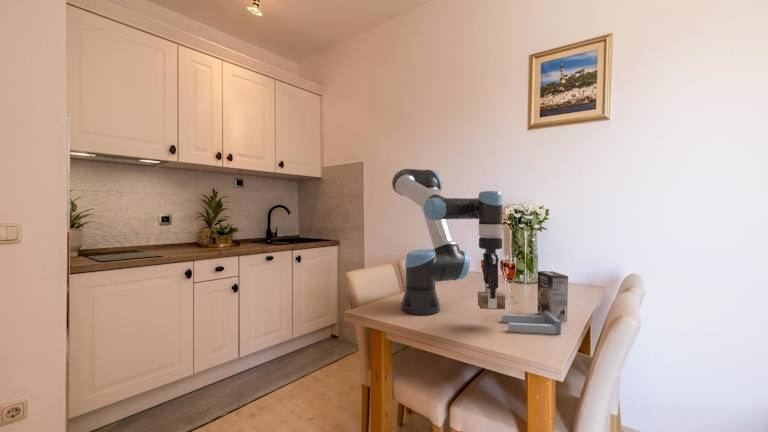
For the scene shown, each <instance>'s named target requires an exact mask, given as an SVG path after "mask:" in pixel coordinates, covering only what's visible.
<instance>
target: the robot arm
mask: <svg viewBox="0 0 768 432" xmlns="http://www.w3.org/2000/svg"><path fill="white" fill-rule="evenodd" d="M442 184H443V179H442V177H441V175H440V173H439V172H438V171H435V170H433V169H416V168H403V169H400V170H398V171H397V172H396V173H395V174H394V175H393V177H392V180H391V186H392V189H393V191H394V192H395V193H396V194H397V195H399V196H401V197H406V198H407V199H409V200H411V201H412V202H413V203H414V204H416V205H418V206H419V207H420V208H421V210H422V213H423V216H424V220H425V223H426V226H427V230H428V232H429V236H430V240H431V243H432V246H433V249H432V248H424V249H415V250H412V251H409V252H408V253H407V254H406V256H405V264H404V265H405V291H404V295H403V298H402V300H401V305H400V306H401V311H402V312H404V313H406V314H409V315H416V316H428V315H430V316H431V315H434V314H438V313H439V312H440V311H441V309H440V307H441V304H440V300H439V298H438V294H437V292H436V283H437V282H438V283H439V282H448V281H457V280H462V279H464V278H465V277H466V276H467V275H468V274H469V271H470V266H471V263H470V257H469V254H468V253H467V252H466V251H464V250H460V247H459V244H458V243H457V242H454V240H453V238H452V234H451V231H450V228H449V225H448V222H447V220H478V236H479V238H478V248H479V249H481V250H485V251H484V252H483V253H482V256H483V281H484V292H488V308H497V292H498V288H499V256H498V254H497V252H496V251H497V250H501V249H502V248H503V238H502V236H503V230H505V228H504V227H503V195H502V192H501V191H499V190H487V191H486V190H484V191H480V192H479V193H478V196H477V198H476V197H474V198H473V197H472V198H470V197H469V198H468V197H467V198H459V197H458V198H457V197H455V198H454V197H449V198H448V197H444V196H443V195H440V194H441V192H442V188H443V185H442Z"/></svg>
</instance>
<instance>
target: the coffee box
mask: <svg viewBox="0 0 768 432" xmlns="http://www.w3.org/2000/svg"><path fill="white" fill-rule="evenodd" d="M568 292H569V276H568V275H566V274H562V273H560V272H556V271H550V270H549V271H547V270H541V271H540V270H539V271H537V315H542V316H544V311H549V312H550V313H551V314H552V315H553V316H555V317H556V318H557V319H558V320H559V321H561V322H567V321H568V303H569V302H568V300H569V299H568V298H569V297H568V296H569V295H568V294H569V293H568Z"/></svg>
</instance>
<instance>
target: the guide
mask: <svg viewBox="0 0 768 432" xmlns="http://www.w3.org/2000/svg"><path fill="white" fill-rule="evenodd" d="M501 314H502V315H501V321H502V323H506V324H507V323H508V325H507V326H508V327H507V328H508V329H507V330H508V332H509V333H524V334H525V333H527V334H542V335H543V334H544V335H545V334H547V335H548V334H549V335H553V334H554V335H561V333H562V331H561V330H562V321H559V320H558V319H557V318H556V317H555V316H553V315H552V314H551V313H550V312H549V311H544V316H542V315H540V314H536V315H535V314H512V313H511V314H510V313H501Z"/></svg>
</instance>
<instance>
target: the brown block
mask: <svg viewBox="0 0 768 432" xmlns="http://www.w3.org/2000/svg"><path fill="white" fill-rule="evenodd" d="M477 305H478V308H479V310H506V295H505V294H504V293H503V291H497V308H488V292H485V291H477Z"/></svg>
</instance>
